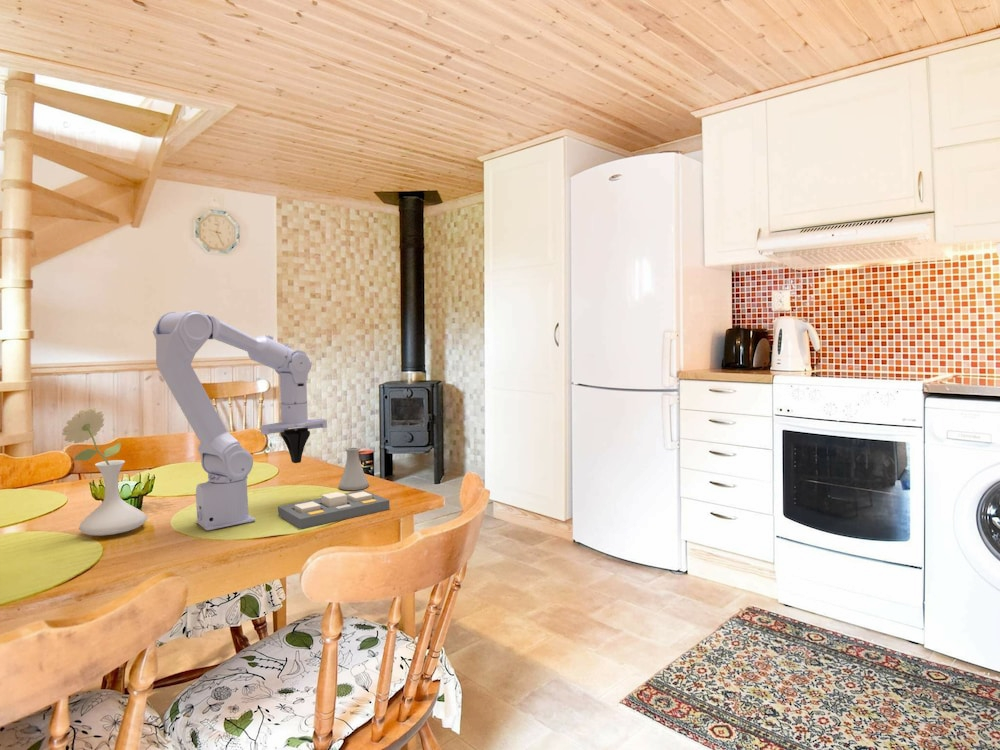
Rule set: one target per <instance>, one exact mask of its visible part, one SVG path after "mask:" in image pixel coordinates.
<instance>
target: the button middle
mask: <svg viewBox="0 0 1000 750" xmlns="http://www.w3.org/2000/svg"><path fill="white" fill-rule="evenodd" d="M321 498H322V504H323V505H325V506H327V507H329V508H331V507H336V506H340V505H345V504H347V495H345V493H343V492H340V491H335V492H330V493H324V494H321Z"/></svg>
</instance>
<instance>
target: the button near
mask: <svg viewBox="0 0 1000 750" xmlns="http://www.w3.org/2000/svg"><path fill="white" fill-rule="evenodd" d="M294 508H295V511H297V512H298V513H300V514H302V513H307V512H311V511H316V510H321V505H319V504H317V503H315V502H313V501H312V502H307V503H302V504H297V505H294Z"/></svg>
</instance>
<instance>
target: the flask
mask: <svg viewBox="0 0 1000 750" xmlns="http://www.w3.org/2000/svg"><path fill="white" fill-rule="evenodd" d="M360 449H361V448H360V447H357V446H355V447H354V446H353V447H347V448H345V452H346V463H345V467H344V470H343V473H342V476H341V477H340V478H341V479H340V482H339V483H338V489H340V490H343V491H360V490H364V489H367V488H368V487H369V486H370V483H369V481H368V479H367V476H366V475H365V472H364V469H363V466H362V464H361V461H360V455H359V451H360Z"/></svg>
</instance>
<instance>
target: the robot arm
mask: <svg viewBox="0 0 1000 750" xmlns="http://www.w3.org/2000/svg"><path fill="white" fill-rule="evenodd" d="M152 333H153V336H154V338H155V353H156V354H155V359H156V361H155V364H156V367H157V369H158V371H159V373H160V374H161V377H162V379H163V380H164V382H165V384H166V386H167V387H168V388H169V390H170V392H171V394H172V397H174V399H175V401H176V403H177V404H178V406H179V407H180V411H182V413H183V414H184V416H185V419H186V420H187V422H188V424H189V426H190V428H191V429H192V430H193V433H194V434H195V436H196V437H197V440H198V441H199V444H198V447H197V451H198V453H199V455H200V463H201V467H202V469H203V470H204V472H206V474H207V479H208V480H207V481H205V482H202V483H201V482H200V483H198V484H197V485H196V489H195V501H196V502H195V505H196V523H197V524H198V525H199V526H201V527H202V528H203V529H204V530H205V531H212V530H217V529H221V528H227V527H230V526H231V527H232V526H236V525H242V524H247V523H252V522H256V518H255V517H254V516H252V515H251V514H249V504H248V500H249V499H248V476H249V474H250V473H251V471H252V469H253V466H254V458H253V456H252V453H251V452H250V451H248V450H247V449H245V448H244V447H243V446H242V445H241V443H240V442H239V440H238V439H237V438H236V437H234V436H233V435H232V434H231V433H229V432H228V430H227V429H226V427H225V425H224V423H223V421H222V419H221V417H220V415H219V413H218V411H217V410H216V408H215V406H214V405H213V403H212V401H211V399H210V397H209V395H208V393H207V391H206V390H205V388H204V386H203V385H202V382H201V381H200V378H199V377H198V375H197V373H196V372H195V370H194V368H193V366H192V362H193V360H194V359H195V355H196V354H197V353H198V351H199V350H201V348H202V347H203V346H204V344H205V343H206V342H207V341H208V340H216V341H218V342H221V343H223V344H225V345H229V346H232V347H234V348H236V349H239V350H242V351H245V352H247V355H248V357H249V359H250V360H252V361H254V362H257V363H259V364H261V365H263V366H266V367H269V368H271V369H273V370H274V371H275V372H276V373H277V374H278V375H279V394H280V421H281V422H274V423H269V424H268V423H267V424H262V425H261V424H260V433H261V435H264V436H265V435H270V434H279V433H280V436H281V438H282V440H283V442H284V443H285V445H286V447H287V449H288V452H289V456H290V459H291V463H293V464H299V463H302V457H303V456H302V455H303V452H304V449H305V446H306V444H307V442H308V439H309V437H310V435H311V431H310V430H311V429H313V430H314V429H321V428H322V429H326V428H327V427H328V420H327V419H326V418H318V419H315V418H314V419H309V417H308V416H309V412H308V389H307V388H308V387H307V385H308V384H307V382H308V380H309V375H308V374H309V373H310V371H311V369H312V365H313V363H312V361H310V357H308V356H309V355H307V353H306V352H305V351H302V350H300V349H299V350H298V349H297V350H294V349H292V348H291V345H289V344H286V343H284V344H283V343H281V342H279V341H276V340H274V336H272V335H270V334H266V335H261V334H260V335H258V336H256V337H254V336H251V335H250V334H248V333H246V332H244V331H242V330H240V329H238V328H236V327H235V326H233V325H230V324H228V323H226V322H224V321H223V320H220V319H218V318H217V317H215V316H214V315H210V314H205V313H204V312H202V311H201V310H200V311H199V310H190V311H180V312H176V311H170V312H166V313H164V314H162V315H161V316H160V317H159V319H158V320H157V322H156V324H155V327H154V329H153V331H152Z"/></svg>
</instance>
